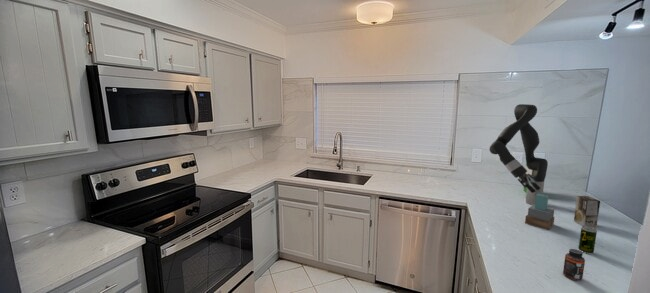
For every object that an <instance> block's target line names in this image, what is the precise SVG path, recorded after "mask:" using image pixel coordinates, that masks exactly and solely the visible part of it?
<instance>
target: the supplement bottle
mask: <svg viewBox="0 0 650 293" xmlns="http://www.w3.org/2000/svg"><path fill="white" fill-rule="evenodd" d="M583 253H584V252H581V251H580V250H579V249H575V248H570V249H569V251H568V252H566V254H565V256H564V262H563V270H562V274H563V275H564V276H565V277H566V278H568V279H570V280H573V281H577V280H579V281H582V280H583V277H584V269H585V264H586V259H585V257H583Z"/></svg>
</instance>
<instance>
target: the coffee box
mask: <svg viewBox="0 0 650 293" xmlns="http://www.w3.org/2000/svg"><path fill="white" fill-rule="evenodd" d="M600 205H601V200H599V199H596V198H593V197H592V196H589V195H588V196H587V195H581V196H580V195H576V201H575V209H574V217H573V222H575V223H577V224H579V225H580V226H581V227H582V226H591V227H594V228H596V229H597V227H598V220H599V213H600Z"/></svg>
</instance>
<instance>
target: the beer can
mask: <svg viewBox="0 0 650 293" xmlns="http://www.w3.org/2000/svg"><path fill="white" fill-rule="evenodd" d="M597 233H598V230H597V227H596V228H594V227H591V226H582V225H581V227H580V234H579V242H578V250H579V251H580V250H581V251H583V252H582V253H584V252H586V253H585V254H587V253H593V254H594V252H595V245H596V239H597Z"/></svg>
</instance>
